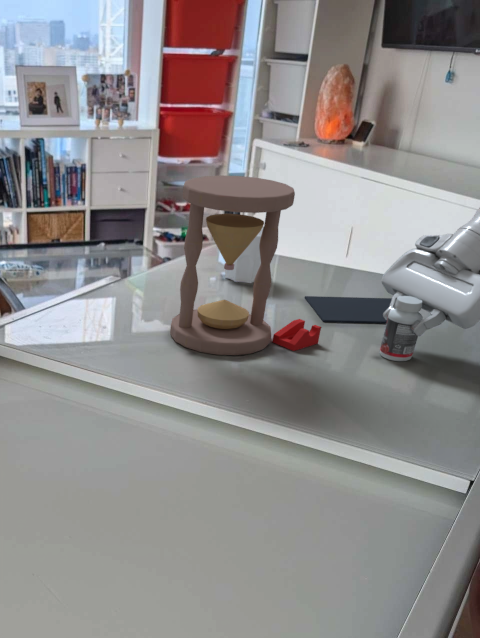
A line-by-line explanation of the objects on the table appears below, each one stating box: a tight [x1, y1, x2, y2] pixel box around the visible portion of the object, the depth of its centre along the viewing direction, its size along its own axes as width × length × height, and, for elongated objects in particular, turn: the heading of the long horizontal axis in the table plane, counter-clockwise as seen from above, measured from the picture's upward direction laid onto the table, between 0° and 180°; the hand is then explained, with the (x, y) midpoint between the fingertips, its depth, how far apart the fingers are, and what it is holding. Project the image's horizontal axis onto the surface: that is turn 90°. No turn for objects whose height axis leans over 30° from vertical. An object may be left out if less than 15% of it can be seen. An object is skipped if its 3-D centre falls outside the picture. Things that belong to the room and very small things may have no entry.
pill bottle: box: [379, 296, 424, 362], centre depth 126 cm, size 5×5×10 cm
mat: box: [304, 295, 392, 325], centre depth 148 cm, size 18×14×1 cm
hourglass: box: [169, 175, 296, 356], centre depth 127 cm, size 18×18×25 cm
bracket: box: [272, 318, 322, 352], centre depth 132 cm, size 6×5×3 cm
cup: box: [224, 225, 264, 284], centre depth 161 cm, size 10×10×10 cm
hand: (399, 325), depth 126 cm, fingers closed on pill bottle, 5 cm apart
